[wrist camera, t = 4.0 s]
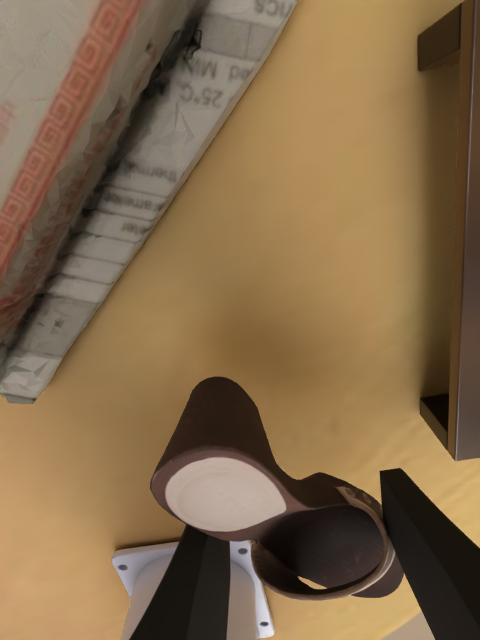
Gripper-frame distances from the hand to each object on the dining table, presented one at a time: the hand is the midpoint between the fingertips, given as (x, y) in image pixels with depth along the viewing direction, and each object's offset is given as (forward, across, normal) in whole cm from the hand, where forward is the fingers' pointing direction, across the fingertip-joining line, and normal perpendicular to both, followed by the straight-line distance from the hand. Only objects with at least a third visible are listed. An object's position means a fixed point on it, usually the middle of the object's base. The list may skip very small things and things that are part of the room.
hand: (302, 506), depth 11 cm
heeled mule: (+2, 0, 0) cm, 2 cm away
